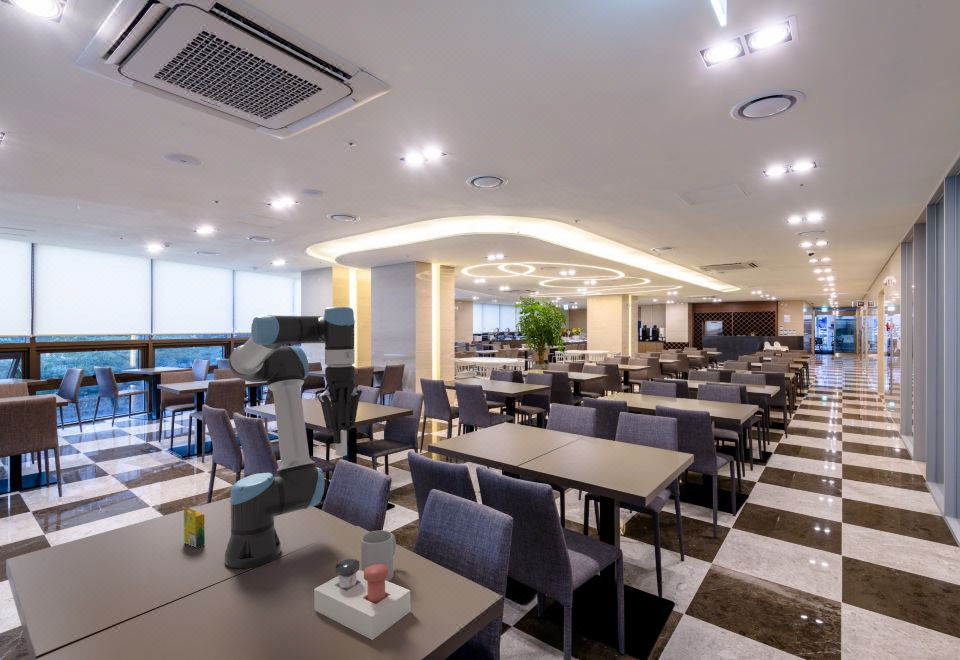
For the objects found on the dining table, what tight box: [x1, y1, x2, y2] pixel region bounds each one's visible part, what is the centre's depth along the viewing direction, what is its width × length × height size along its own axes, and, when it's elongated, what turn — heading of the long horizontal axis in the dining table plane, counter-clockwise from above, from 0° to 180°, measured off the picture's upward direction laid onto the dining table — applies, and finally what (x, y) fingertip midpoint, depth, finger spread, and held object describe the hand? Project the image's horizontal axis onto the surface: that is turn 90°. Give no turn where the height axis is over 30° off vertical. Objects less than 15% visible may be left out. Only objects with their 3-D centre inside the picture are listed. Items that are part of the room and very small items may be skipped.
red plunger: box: [364, 564, 388, 604], centre depth 106 cm, size 6×6×9 cm
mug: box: [360, 529, 397, 582], centre depth 126 cm, size 12×8×11 cm
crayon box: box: [183, 506, 206, 548], centre depth 146 cm, size 7×3×12 cm, turn 58°
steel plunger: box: [335, 558, 360, 591], centre depth 112 cm, size 6×6×9 cm
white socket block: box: [313, 569, 412, 641], centre depth 109 cm, size 20×12×5 cm, turn 56°
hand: (341, 454), depth 121 cm, fingers closed
